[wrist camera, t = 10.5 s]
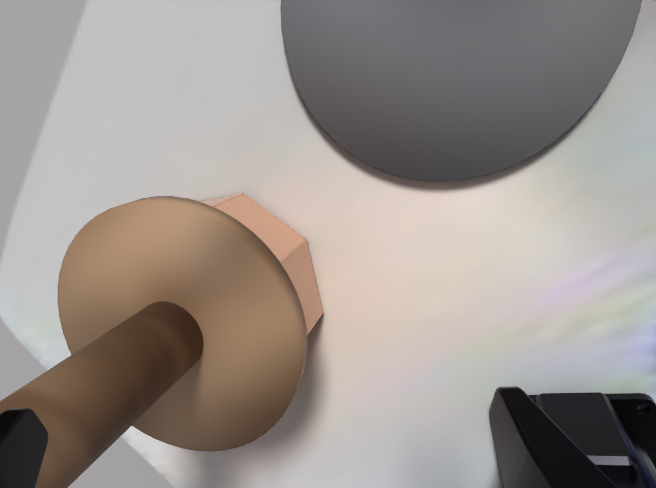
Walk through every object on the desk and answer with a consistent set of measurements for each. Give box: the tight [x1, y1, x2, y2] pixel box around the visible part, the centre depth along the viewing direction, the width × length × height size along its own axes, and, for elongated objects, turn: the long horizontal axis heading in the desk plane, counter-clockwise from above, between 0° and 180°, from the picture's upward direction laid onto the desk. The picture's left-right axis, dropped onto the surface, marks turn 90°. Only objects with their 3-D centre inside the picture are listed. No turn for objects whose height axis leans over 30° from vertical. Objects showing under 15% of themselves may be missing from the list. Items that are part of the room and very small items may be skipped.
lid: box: [0, 196, 308, 488], centre depth 14 cm, size 11×11×13 cm
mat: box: [281, 0, 642, 181], centre depth 18 cm, size 13×13×1 cm
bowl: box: [198, 193, 323, 336], centre depth 22 cm, size 9×9×5 cm
